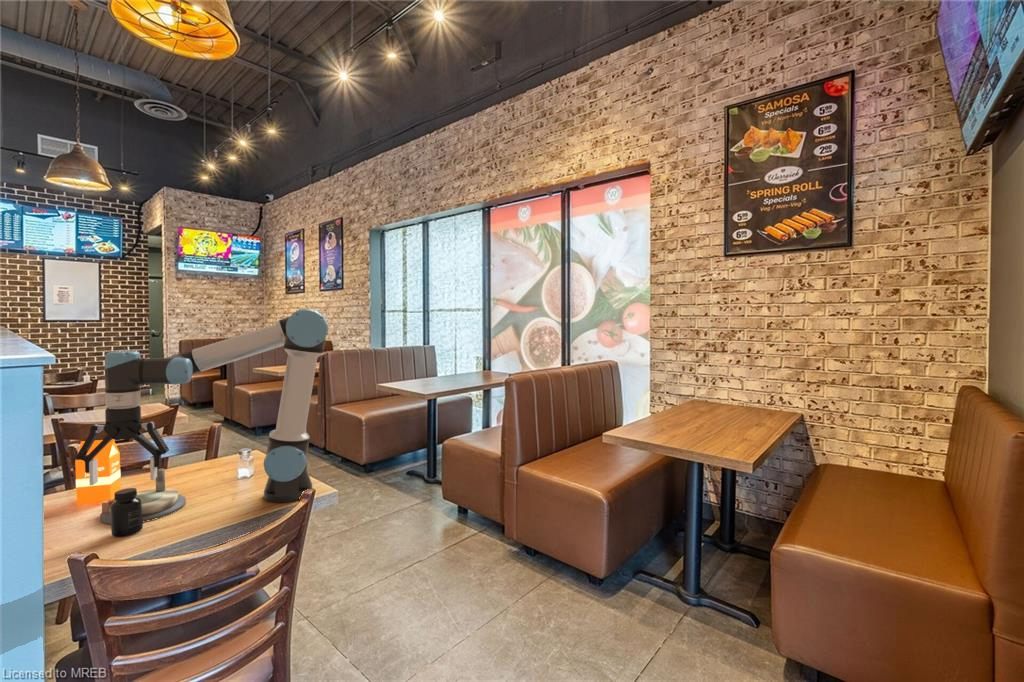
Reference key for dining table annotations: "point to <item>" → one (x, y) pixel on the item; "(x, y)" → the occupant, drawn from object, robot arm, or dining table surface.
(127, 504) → the supplement bottle
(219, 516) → the dining table surface
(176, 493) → the turntable
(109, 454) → the orange juice
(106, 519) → the base
